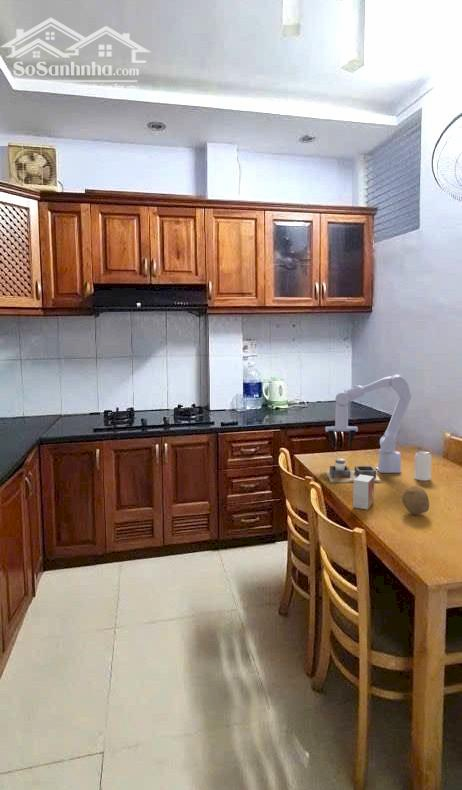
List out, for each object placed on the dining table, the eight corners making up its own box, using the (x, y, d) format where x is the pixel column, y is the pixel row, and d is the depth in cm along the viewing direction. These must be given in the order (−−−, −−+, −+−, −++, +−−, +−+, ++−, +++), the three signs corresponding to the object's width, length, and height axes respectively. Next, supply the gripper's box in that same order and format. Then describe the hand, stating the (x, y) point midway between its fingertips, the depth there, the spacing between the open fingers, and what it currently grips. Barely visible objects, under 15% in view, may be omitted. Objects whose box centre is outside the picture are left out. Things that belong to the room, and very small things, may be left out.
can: (431, 481, 200) (433, 454, 198) (415, 480, 201) (416, 453, 199) (428, 476, 206) (429, 450, 204) (413, 476, 207) (414, 449, 206)
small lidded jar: (343, 473, 209) (343, 458, 208) (345, 476, 205) (346, 460, 204) (334, 473, 209) (334, 457, 208) (336, 476, 205) (336, 460, 204)
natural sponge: (400, 507, 172) (401, 481, 170) (427, 510, 169) (428, 483, 167) (401, 517, 163) (402, 489, 162) (429, 520, 160) (430, 492, 159)
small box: (367, 510, 170) (368, 482, 168) (352, 507, 173) (353, 479, 171) (374, 503, 177) (374, 476, 175) (359, 500, 180) (359, 473, 178)
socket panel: (372, 472, 214) (372, 463, 213) (380, 482, 200) (381, 473, 199) (325, 472, 215) (326, 464, 214) (330, 482, 201) (330, 473, 200)
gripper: (327, 419, 214) (326, 448, 216) (359, 419, 213) (358, 448, 215) (324, 416, 221) (324, 444, 223) (356, 416, 220) (355, 444, 222)
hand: (341, 446), depth 220 cm, fingers open, 7 cm apart
